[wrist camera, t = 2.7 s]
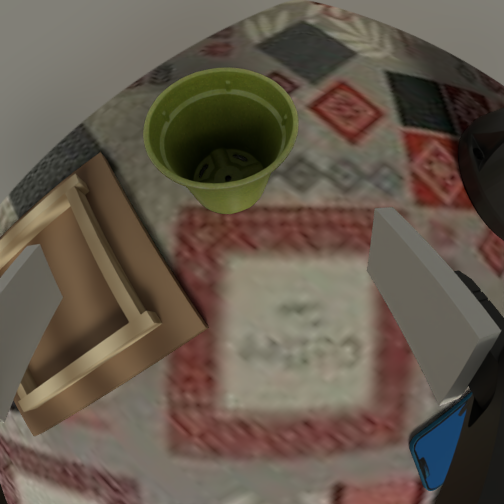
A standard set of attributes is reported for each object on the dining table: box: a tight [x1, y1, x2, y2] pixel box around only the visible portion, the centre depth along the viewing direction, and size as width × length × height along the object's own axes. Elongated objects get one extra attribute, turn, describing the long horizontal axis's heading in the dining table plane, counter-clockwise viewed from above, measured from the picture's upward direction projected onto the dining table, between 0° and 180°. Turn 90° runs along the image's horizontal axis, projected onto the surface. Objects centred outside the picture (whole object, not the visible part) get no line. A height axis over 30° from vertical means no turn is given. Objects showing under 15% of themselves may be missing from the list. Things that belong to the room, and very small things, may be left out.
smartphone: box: [410, 392, 473, 491], centre depth 21 cm, size 7×1×15 cm
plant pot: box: [143, 68, 298, 214], centre depth 22 cm, size 9×9×9 cm
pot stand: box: [0, 152, 209, 436], centre depth 22 cm, size 20×18×4 cm
